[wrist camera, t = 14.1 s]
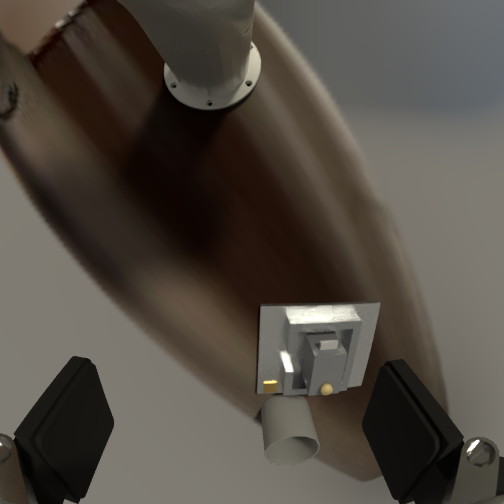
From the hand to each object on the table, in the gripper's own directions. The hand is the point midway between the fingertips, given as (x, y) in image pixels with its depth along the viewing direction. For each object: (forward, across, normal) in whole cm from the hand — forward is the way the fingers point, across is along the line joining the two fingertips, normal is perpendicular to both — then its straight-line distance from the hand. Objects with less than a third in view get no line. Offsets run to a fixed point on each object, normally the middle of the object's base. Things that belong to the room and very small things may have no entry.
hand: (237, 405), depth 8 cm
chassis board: (+30, -12, +18) cm, 37 cm away
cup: (+31, -8, +31) cm, 44 cm away
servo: (+30, -12, +18) cm, 37 cm away
